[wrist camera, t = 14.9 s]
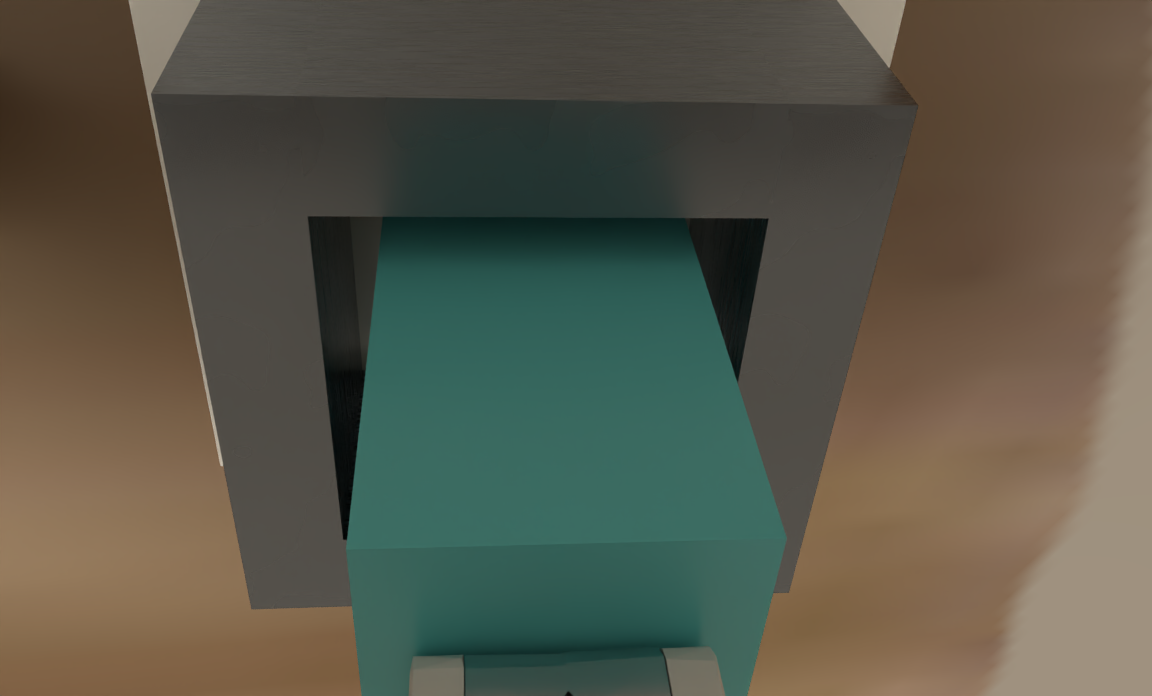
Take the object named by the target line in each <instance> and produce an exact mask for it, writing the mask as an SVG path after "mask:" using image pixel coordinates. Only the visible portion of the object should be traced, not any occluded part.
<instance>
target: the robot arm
mask: <svg viewBox="0 0 1152 696" xmlns="http://www.w3.org/2000/svg"><path fill="white" fill-rule="evenodd" d="M409 696H725V692H724V688H723V684H722V679H721V675H720V670H719V666H718V662H717V657H716V655H715V654H714V652H713V651H712V649H711V648H710V647H709V646H695V647H678V648H661V649H659V647H644V648H624V649H605V650H586V651H566V652H562V653H556V654H499V655H465V687H464V655H441V656H413V659H412V664H411V669H410V680H409Z"/></svg>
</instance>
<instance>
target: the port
mask: <svg viewBox="0 0 1152 696" xmlns="http://www.w3.org/2000/svg"><path fill="white" fill-rule="evenodd" d="M151 98H152V103H153V108H154V113H155V118H156V123H157V128H158V133H159V139H160V144H161V149H162V154H163V159H164V164H165V169H166V174H167V180H168V185H169V190H170V195H171V200H172V205H173V210H174V215H175V220H176V226H177V231H178V236H179V241H180V246H181V251H182V256H183V261H184V266H185V272H186V277H187V282H188V287H189V292H190V297H191V302H192V307H193V312H194V318H195V323H196V328H197V333H198V338H199V343H200V348H201V353H202V358H203V364H204V369H205V374H206V379H207V384H208V389H209V394H210V399H211V405H212V410H213V415H214V420H215V425H216V430H217V435H218V440H219V445H220V451H221V456H222V461H223V466H224V471H225V476H226V481H227V486H228V491H229V497H230V502H231V507H232V512H233V517H234V522H235V527H236V532H237V537H238V543H239V548H240V553H241V558H242V563H243V568H244V573H245V578H246V583H247V589H248V594H249V599H250V604H251V609H275V608H308V607H340V606H352V601H351V591H350V582H349V573H348V564H347V554H346V545H347V536H348V527H349V518H350V509H351V500H352V491H353V482H354V472H355V463H356V454H357V445H358V436H359V427H360V418H361V409H362V400H363V391H364V382H365V373H366V370H362V359H361V347H360V335H359V323H358V310H357V298H356V286H355V274H354V262H353V250H352V238H351V226H350V217H561V218H690V225H689V232H690V236H691V239H692V242H693V245H694V248H695V251H696V254H697V258H698V261H699V264H700V267H701V270H702V273H703V276H704V280H705V283H706V286H707V289H708V292H709V295H710V298H711V302H712V305H713V308H714V311H715V314H716V317H717V320H718V324H719V327H720V330H721V333H722V336H723V339H724V342H725V346H726V349H727V352H728V355H729V358H730V361H731V364H732V368H733V371H734V374H735V377H736V380H737V383H738V386H739V390H740V393H741V396H742V399H743V402H744V405H745V408H746V412H747V415H748V418H749V421H750V424H751V427H752V430H753V434H754V437H755V440H756V443H757V446H758V449H759V452H760V456H761V459H762V462H763V465H764V468H765V471H766V474H767V478H768V481H769V484H770V487H771V490H772V493H773V496H774V500H775V503H776V506H777V509H778V512H779V515H780V518H781V521H782V525H783V528H784V531H785V534H786V537H787V540H786V544H785V548H784V552H783V556H782V560H781V563H780V567H779V571H778V575H777V579H776V583H775V587H774V591H773V593H789V590H790V586H791V582H792V579H793V575H794V571H795V567H796V564H797V560H798V556H799V552H800V549H801V545H802V541H803V537H804V534H805V530H806V526H807V522H808V518H809V515H810V511H811V507H812V503H813V500H814V496H815V492H816V488H817V485H818V481H819V477H820V473H821V470H822V466H823V462H824V458H825V455H826V451H827V447H828V443H829V440H830V436H831V432H832V428H833V424H834V421H835V417H836V413H837V409H838V406H839V402H840V398H841V394H842V391H843V387H844V383H845V379H846V376H847V372H848V368H849V364H850V361H851V357H852V353H853V349H854V345H855V342H856V338H857V334H858V330H859V327H860V323H861V319H862V315H863V312H864V308H865V304H866V300H867V297H868V293H869V289H870V285H871V282H872V278H873V274H874V270H875V267H876V263H877V259H878V255H879V251H880V248H881V244H882V240H883V236H884V233H885V229H886V225H887V221H888V218H889V214H890V210H891V206H892V203H893V199H894V195H895V191H896V188H897V184H898V180H899V176H900V172H901V169H902V165H903V161H904V157H905V154H906V150H907V146H908V142H909V139H910V135H911V131H912V127H913V124H914V120H915V116H916V112H917V109H918V105H917V103H916V102H915V101H914V100H913V98H912V97H911V96H910V94H909V93H908V92H907V90H906V89H905V88H904V87H903V85H902V84H901V83H900V81H899V80H898V79H897V77H896V76H895V75H894V74H893V72H892V71H891V70H890V68H889V67H888V66H887V65H886V63H885V62H884V61H883V59H882V58H881V57H880V55H879V54H878V53H877V52H876V50H875V49H874V48H873V46H872V45H871V44H870V43H869V41H868V40H867V39H866V37H865V36H864V35H863V33H862V32H861V31H860V30H859V28H858V27H857V26H856V24H855V23H854V22H853V20H852V19H851V18H850V17H849V15H848V14H847V13H846V11H845V10H844V9H843V8H842V6H841V5H840V4H839V2H838V1H837V0H200V2H199V4H198V6H197V8H196V10H195V12H194V13H193V15H192V17H191V19H190V21H189V23H188V25H187V27H186V28H185V30H184V32H183V34H182V36H181V38H180V40H179V42H178V43H177V45H176V47H175V49H174V51H173V53H172V55H171V57H170V58H169V60H168V62H167V64H166V66H165V68H164V70H163V72H162V73H161V75H160V77H159V79H158V81H157V83H156V85H155V87H154V89H153V90H152V92H151Z"/></svg>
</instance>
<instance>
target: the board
mask: <svg viewBox="0 0 1152 696" xmlns="http://www.w3.org/2000/svg"><path fill="white" fill-rule="evenodd" d="M128 1H129V6H130V11H131V16H132V21H133V26H134V31H135V36H136V41H137V46H138V51H139V56H140V61H141V66H142V71H143V76H144V81H145V87H146V92H147V97H148V102H149V107H150V112H151V117H152V122H153V127H154V132H155V137H156V142H157V147H158V152H159V157H160V162H161V167H162V172H163V178H164V183H165V188H166V193H167V198H168V203H169V208H170V213H171V218H172V223H173V228H174V233H175V238H176V243H177V248H178V253H179V258H180V263H181V269H182V274H183V279H184V284H185V289H186V294H187V299H188V304H189V309H190V314H191V319H192V324H193V329H194V334H195V339H196V344H197V349H198V354H199V360H200V365H201V370H202V375H203V380H204V385H205V390H206V395H207V400H208V405H209V410H210V415H211V420H212V425H213V430H214V435H215V440H216V445H217V450H218V456H219V461H220V466H223V461H222V456H221V451H220V445H219V440H218V435H217V430H216V425H215V420H214V415H213V410H212V405H211V399H210V394H209V389H208V384H207V379H206V374H205V369H204V364H203V358H202V353H201V348H200V343H199V338H198V333H197V328H196V323H195V318H194V312H193V307H192V302H191V297H190V292H189V287H188V282H187V277H186V272H185V266H184V261H183V256H182V251H181V246H180V241H179V236H178V231H177V226H176V220H175V215H174V210H173V205H172V200H171V195H170V190H169V185H168V180H167V174H166V169H165V164H164V159H163V154H162V149H161V144H160V139H159V133H158V128H157V123H156V118H155V113H154V108H153V103H152V98H151V92H152V90H153V89H154V87H155V85H156V83H157V81H158V79H159V77H160V75H161V73H162V72H163V70H164V68H165V66H166V64H167V62H168V60H169V58H170V57H171V55H172V53H173V51H174V49H175V47H176V45H177V43H178V42H179V40H180V38H181V36H182V34H183V32H184V30H185V28H186V27H187V25H188V23H189V21H190V19H191V17H192V15H193V13H194V12H195V10H196V8H197V6H198V4H199V2H200V0H128ZM837 1H838V2H839V4H840V5H841V6H842V8H843V9H844V10H845V11H846V13H847V14H848V15H849V17H850V18H851V19H852V20H853V22H854V23H855V24H856V26H857V27H858V28H859V30H860V31H861V32H862V33H863V35H864V36H865V37H866V39H867V40H868V41H869V43H870V44H871V45H872V46H873V48H874V49H875V50H876V52H877V53H878V54H879V55H880V57H881V58H882V59H883V61H884V62H885V63H886V65H887V66H888V67H889V68H890V65H891V61H892V56H893V52H894V48H895V44H896V40H897V36H898V32H899V28H900V24H901V19H902V15H903V11H904V7H905V3H906V0H837ZM382 219H383V217H350V226H351V238H352V250H353V262H354V274H355V286H356V298H357V310H358V323H359V335H360V347H361V359H362V370H366V364H367V355H368V346H369V336H370V327H371V318H372V309H373V300H374V291H375V282H376V273H377V264H378V255H379V246H380V237H381V228H382ZM685 220H686V223H687V226H688V229H689V225H690V218H685Z"/></svg>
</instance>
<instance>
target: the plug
mask: <svg viewBox="0 0 1152 696" xmlns="http://www.w3.org/2000/svg"><path fill="white" fill-rule="evenodd" d="M786 540H787V537H786V534H785V531H784V528H783V525H782V521H781V518H780V515H779V512H778V509H777V506H776V503H775V500H774V496H773V493H772V490H771V487H770V484H769V481H768V478H767V474H766V471H765V468H764V465H763V462H762V459H761V456H760V452H759V449H758V446H757V443H756V440H755V437H754V434H753V430H752V427H751V424H750V421H749V418H748V415H747V412H746V408H745V405H744V402H743V399H742V396H741V393H740V390H739V386H738V383H737V380H736V377H735V374H734V371H733V368H732V364H731V361H730V358H729V355H728V352H727V349H726V346H725V342H724V339H723V336H722V333H721V330H720V327H719V324H718V320H717V317H716V314H715V311H714V308H713V305H712V302H711V298H710V295H709V292H708V289H707V286H706V283H705V280H704V276H703V273H702V270H701V267H700V264H699V261H698V258H697V254H696V251H695V248H694V245H693V242H692V239H691V236H690V232H689V229H688V226H687V223H686V220H685V218H561V217H383V219H382V228H381V237H380V246H379V255H378V264H377V273H376V282H375V291H374V300H373V309H372V318H371V327H370V336H369V346H368V355H367V364H366V373H365V382H364V391H363V400H362V409H361V418H360V427H359V436H358V445H357V454H356V463H355V472H354V482H353V491H352V500H351V509H350V518H349V527H348V536H347V545H346V554H347V564H348V573H349V582H350V591H351V601H352V610H353V619H354V628H355V638H356V647H357V656H358V665H359V675H360V684H361V693H362V696H409V680H410V669H411V664H412V659H413V656H441V655H464V687H465V655H499V654H556V653H562V652H566V651H586V650H605V649H624V648H644V647H659V649H661V648H678V647H695V646H709V647H710V648H711V649H712V651H713V652H714V654H715V655H716V657H717V662H718V666H719V670H720V675H721V679H722V684H723V688H724V692H725V696H747V694H748V690H749V686H750V682H751V678H752V674H753V670H754V666H755V662H756V659H757V655H758V651H759V647H760V643H761V639H762V635H763V631H764V627H765V623H766V619H767V615H768V611H769V607H770V603H771V599H772V595H773V591H774V587H775V583H776V579H777V575H778V571H779V567H780V563H781V560H782V556H783V552H784V548H785V544H786Z"/></svg>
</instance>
